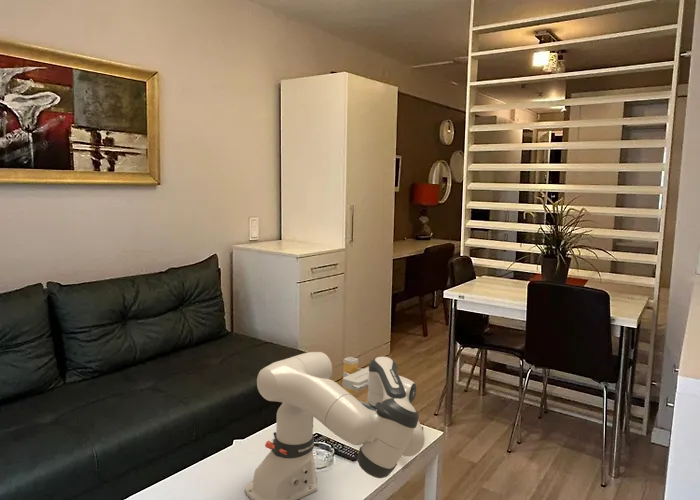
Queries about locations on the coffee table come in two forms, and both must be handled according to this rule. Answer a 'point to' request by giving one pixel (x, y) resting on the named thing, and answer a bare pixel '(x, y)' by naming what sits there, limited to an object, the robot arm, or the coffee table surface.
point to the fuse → (350, 368)
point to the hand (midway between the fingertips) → (348, 371)
